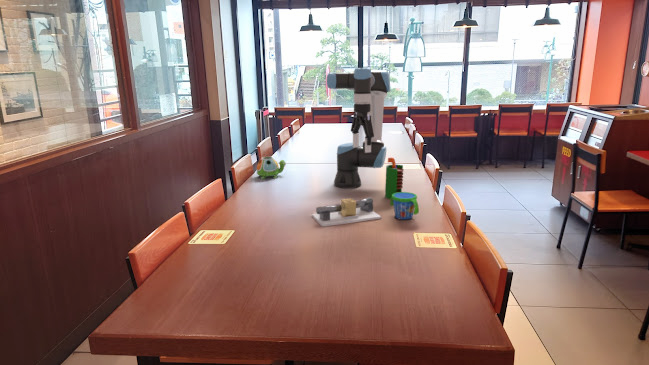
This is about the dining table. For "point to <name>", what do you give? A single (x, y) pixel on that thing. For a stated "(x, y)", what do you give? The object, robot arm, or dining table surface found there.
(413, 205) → the snack cup
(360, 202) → the shaft
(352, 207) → the block
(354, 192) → the dining table surface
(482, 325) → the dining table surface
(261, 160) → the turtle holder
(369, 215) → the base plate
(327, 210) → the shaft
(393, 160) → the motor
